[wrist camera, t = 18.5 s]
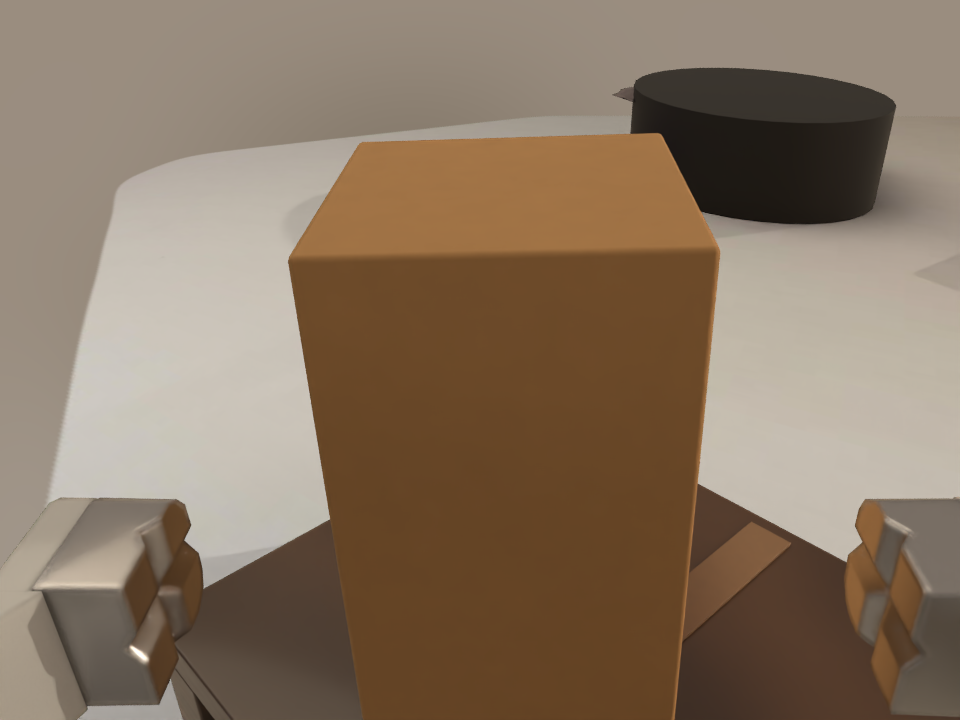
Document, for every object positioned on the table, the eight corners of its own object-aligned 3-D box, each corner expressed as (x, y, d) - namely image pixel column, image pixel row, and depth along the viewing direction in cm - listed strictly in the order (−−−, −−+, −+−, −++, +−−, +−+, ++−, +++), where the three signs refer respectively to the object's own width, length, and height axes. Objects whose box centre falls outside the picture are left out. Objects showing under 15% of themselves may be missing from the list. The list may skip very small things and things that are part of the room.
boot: (666, 871, 16) (730, 247, 10) (379, 864, 16) (276, 256, 10) (615, 502, 25) (632, 65, 19) (433, 502, 25) (396, 74, 19)
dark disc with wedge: (787, 260, 51) (817, 135, 47) (582, 170, 63) (592, 65, 59) (920, 209, 59) (955, 98, 55) (713, 138, 71) (730, 43, 67)
